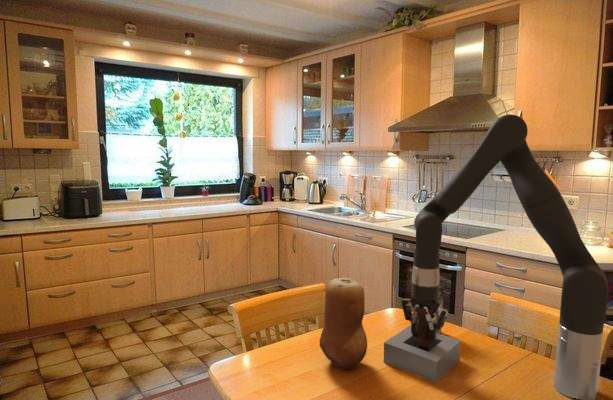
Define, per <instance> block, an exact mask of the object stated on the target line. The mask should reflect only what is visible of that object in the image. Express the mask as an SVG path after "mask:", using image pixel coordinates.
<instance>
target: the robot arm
mask: <svg viewBox="0 0 613 400" xmlns="http://www.w3.org/2000/svg"><path fill="white" fill-rule="evenodd" d="M528 134H529V133H528V125H527V122H526V121H525V120H524V118H523V117H521V116H519V115H516V114H504V115H502V116H499V117H497V118H496V119H494V121H492V123H491V124H490V125H489V127H488V130H487V133H486V135H485V136H484V138H483V139H482V140H481V141H482V142H481V143H480V144H479V146H478V147H477V148H476V149H475V150H474V152H473V154H472V155H470V157H469V158H468V159H467V160H466V161H465V163H463V165H462V166H461V167H460V168H459V169H458V170H457V171H456V172H455V173H454V174H453V175H452V176H451V178H449V180H447V182H446V183H445V184H444V185H443V187H441V189H440V191H438V192H437V194H436V195H435V197H433V198H432V199H431V200H430V201H429V202H428V203H427V204H426V205H425V206H424V207H423V208H422V209H421V210H420V211H419V212H418V213H417V215H416V216H415V218H414V222H413V224H414V228H415V246H414V251H413V265H412V270H411V293H410V295H411V297H410V298H408V297H406V298H404V299H402V300H401V307H402V310H403V315H404V320H406V321H409V322H410V325H411V333H412V334H413V336H414V337H415V336H417V335H418V322H417V321H418V319H419V317H418V314H419V313H417V312H416V311H413V312H412V308H414V307H415V308H414V309H416V307H424V309H426V312H428V315H426V319H427V322H428V323H429V327H430V329H429V341H430V342H432V341H433V340H435V339H436V329H437V330H439V329H441V330H442V328H443V327H444V326H445V322H446V320H447V318H448V316H449V312H450V310H449V309H448V308H443V307H442V308H441V307H440V305H439V303H438V298H439V285H440V248H441V243H442V236H443V222H444V221H446V220H447V218H448V217H449V216H450V215H452V214H455V213H456V212H457V211H458V210H459V209H461V207H462V206H463V205H464V204H465V203H466V201H468V199H469V198H470V197H471V196H472V195H473V193H474V192H475V191H476V190H477V188H478V187H479V186H480V185H481V184H482V182H483V181H484V179H485V178H486V177H487V176H488V175H489V174H490V172H491V171H492V170H493V169H494V168H495V167H496V166H497V165H498V164H499V163H501V165H502V166H503V167H504V168H505V171H506V173H507V174H508V177H509V179H510V181H511V184H512V186H513V189H514V192H515V193H516V196H517V198H518V200H519V202H520V205H521V207H522V209H523V210H524V213H525V214H526V217H527V218H528V220H529V221H530V223H531V225H532V227H533V228H534V229H535V231H536V232H537V233H538V235H539V236H540V237H541V238H542V239H543V241H544V242H545V243H546V244H547V245H548V247H549V249H550V250H551V251H552V253H553V256H554V257H555V260H556V263H557V264H558V267H559V269H560V271H561V274H562V278H563V280H562V286H561V287H562V288H561V298H560V299H561V300H560V309H559V321H558V322H559V323H558V334H557V335H558V336H557V345H556V355H555V366H554V376H553V387H554V388H555V389H556V390H557V392H559V393H560V394H561V395H564V396H565V397H568V398H570V397H571V399H573V398H576V399H575V400H577V399H581V400H596V398H597V395H598V391H599V382H600V373H601V363H602V358H601V353H602V344H603V343H602V342H603V335H604V328H605V327H604V326H605V322H606V315H607V309H608V308H607V307H608V299H609V284H608V279H607V276H606V274H605V272H604V271H603V270H602V268H601V267H600V266H599V264H598V263H597V261H596V260H595V258H594V257H593V255H592V254H591V252H590V251H589V249H587V246H586V245H585V243H584V242H583V239H582V237H581V235H580V233H579V230H578V228H577V225H576V222H575V220H574V217H573V216H572V213H571V210H570V209H569V207H568V205H567V203H566V201H565V200H564V198H563V196H562V194H561V192H560V190H559V188H558V187H557V186H556V184H555V183H554V182H553V180H552V179H551V178H550V177H549V176H548V175H547V173H546V172H545V171H544V170H543V169H542V168H541V167H540V166H539V164H538V162H537V161H536V160H535V158H534V156H533V154H532V152H531V149H530V147H529V145H528V142H527V140H526V139H527V136H528ZM428 309H430V310H431V311H432V312H431V313H432V315H430V313H429V310H428ZM437 310H438V312H439V313H438V314H439V316H440V317H439V319H438V322H436V314H435V312H436V311H437Z"/></svg>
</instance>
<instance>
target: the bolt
mask: <svg viewBox="0 0 613 400" xmlns="http://www.w3.org/2000/svg"><path fill="white" fill-rule="evenodd" d="M414 308H415V307H414ZM428 310H429V313H430V315H432V313H431V312H432V311H431V310H430V309H428ZM414 311H416V312H417V313H419V314H418V317H419V321H418V335H417V336H416V337H415V343H416V344H417V345H418V347H417V348H419V349H422V350H425V351H427V352H429V346H431V344H432V342H430V341H429V329H430V327H429V323H428V322H427V319H426V315H428V312H426V309H424V307H416V309H414Z"/></svg>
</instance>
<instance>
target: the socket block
mask: <svg viewBox="0 0 613 400" xmlns="http://www.w3.org/2000/svg"><path fill="white" fill-rule="evenodd" d="M415 337H416V336H415ZM415 337H414V336H413V334H412V333H411V324H409V325H408V326H407V327H405V328H403V329H402V330H401V331H399V332H398V333H396V334H395V335H393V336H392V337H390V338H389V339H387V340H386V341H384V343H383V363H385V364H388V365H391V366H393V367H396V368H397V369H400V370H402V371H405V372H408V373H410V374H413V375H414V376H417V377H420V378H423V379H424V380H427V381H429V382H432V383H435V384H437V383H438V382H439V381H440V379H442V378H443V377H444V376H445V375H446V374H447V373H448V372H449V371H450V370H451V369H452V368H453V367H454V366H455V365H456V364H457V363H459V362H460V359H461V358H460V354H461V340H459V339H456V338H453V337H450V336H447V335H444V334H441V333H436V339H435V340H433V341H432V344H431V346H429V352H427V351H425V350H422V349H419V348H417V347H418V345H417V344H416V343H415Z"/></svg>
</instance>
